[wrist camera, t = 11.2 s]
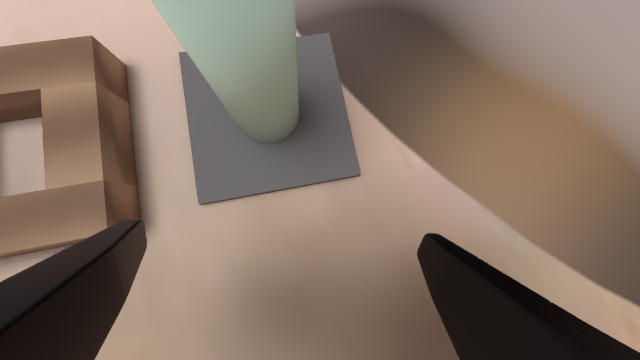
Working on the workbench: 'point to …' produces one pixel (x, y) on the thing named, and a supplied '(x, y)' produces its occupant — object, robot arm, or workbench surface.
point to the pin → (243, 58)
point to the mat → (280, 157)
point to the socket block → (69, 142)
